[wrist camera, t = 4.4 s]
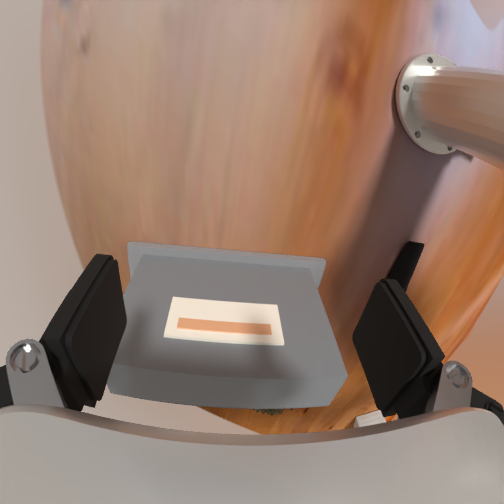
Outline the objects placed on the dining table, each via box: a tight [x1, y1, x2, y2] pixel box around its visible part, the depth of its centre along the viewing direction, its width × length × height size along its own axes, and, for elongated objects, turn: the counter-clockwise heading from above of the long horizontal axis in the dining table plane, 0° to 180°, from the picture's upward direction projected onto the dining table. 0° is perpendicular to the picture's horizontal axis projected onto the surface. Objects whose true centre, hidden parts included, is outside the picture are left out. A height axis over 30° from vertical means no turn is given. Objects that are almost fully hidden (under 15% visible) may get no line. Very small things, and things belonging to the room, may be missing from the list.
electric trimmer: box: [388, 241, 424, 292], centre depth 37 cm, size 4×16×3 cm, turn 171°
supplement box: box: [353, 410, 386, 428], centre depth 57 cm, size 7×7×13 cm
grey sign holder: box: [106, 241, 348, 409], centre depth 28 cm, size 24×7×17 cm, turn 82°
